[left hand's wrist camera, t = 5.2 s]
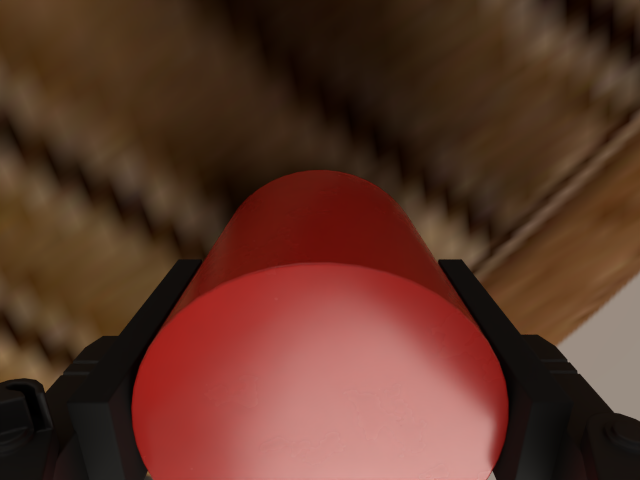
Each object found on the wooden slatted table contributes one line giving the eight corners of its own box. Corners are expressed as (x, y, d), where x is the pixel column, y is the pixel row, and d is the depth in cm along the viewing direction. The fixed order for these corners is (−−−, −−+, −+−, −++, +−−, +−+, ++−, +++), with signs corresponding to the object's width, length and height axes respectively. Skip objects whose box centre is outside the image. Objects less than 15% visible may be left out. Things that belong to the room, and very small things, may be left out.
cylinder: (281, 379, 18) (253, 595, 11) (179, 228, 16) (49, 367, 8) (450, 307, 17) (556, 492, 9) (368, 130, 14) (423, 186, 7)
